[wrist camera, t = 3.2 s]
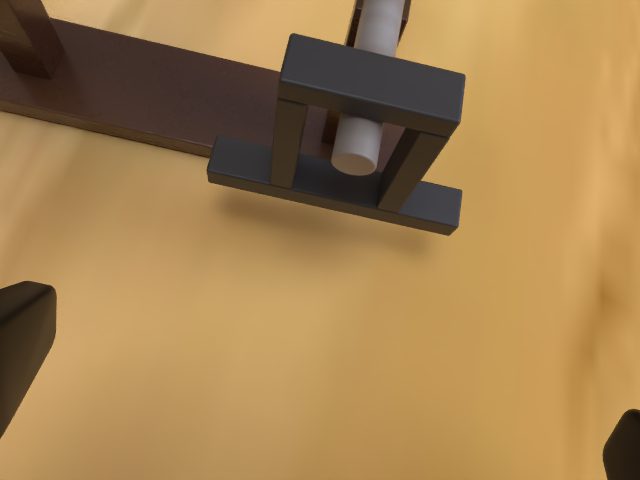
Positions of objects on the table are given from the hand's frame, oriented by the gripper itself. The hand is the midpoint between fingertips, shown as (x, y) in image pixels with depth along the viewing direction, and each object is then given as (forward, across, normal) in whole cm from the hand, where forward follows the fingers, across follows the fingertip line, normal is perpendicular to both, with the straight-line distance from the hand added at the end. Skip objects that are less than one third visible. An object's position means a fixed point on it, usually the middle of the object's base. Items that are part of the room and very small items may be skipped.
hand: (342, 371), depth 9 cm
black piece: (+12, 0, +2) cm, 12 cm away
